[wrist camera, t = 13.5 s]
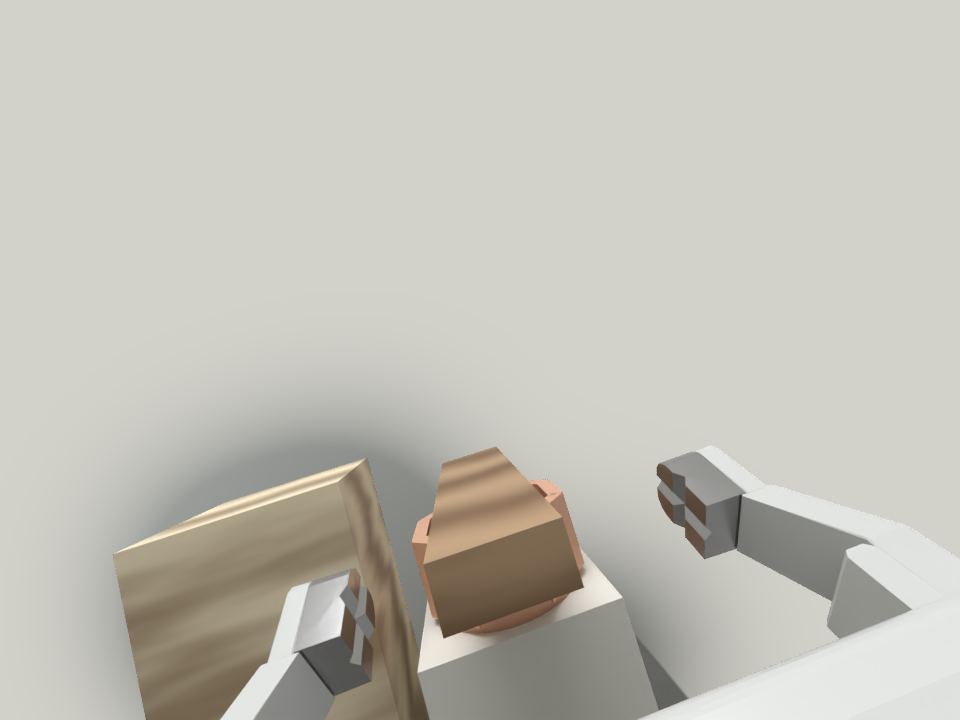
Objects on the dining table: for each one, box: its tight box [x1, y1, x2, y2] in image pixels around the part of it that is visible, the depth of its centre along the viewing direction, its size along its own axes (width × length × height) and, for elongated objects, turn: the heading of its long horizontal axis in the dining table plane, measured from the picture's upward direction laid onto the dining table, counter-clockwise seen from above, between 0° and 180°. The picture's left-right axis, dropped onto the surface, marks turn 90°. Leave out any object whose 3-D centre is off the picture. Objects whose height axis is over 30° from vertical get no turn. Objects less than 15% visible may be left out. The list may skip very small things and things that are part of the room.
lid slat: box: [423, 447, 584, 639], centre depth 21 cm, size 19×4×2 cm, turn 5°
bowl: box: [412, 479, 584, 634], centre depth 22 cm, size 9×9×4 cm
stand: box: [113, 458, 430, 720], centre depth 22 cm, size 10×10×26 cm
